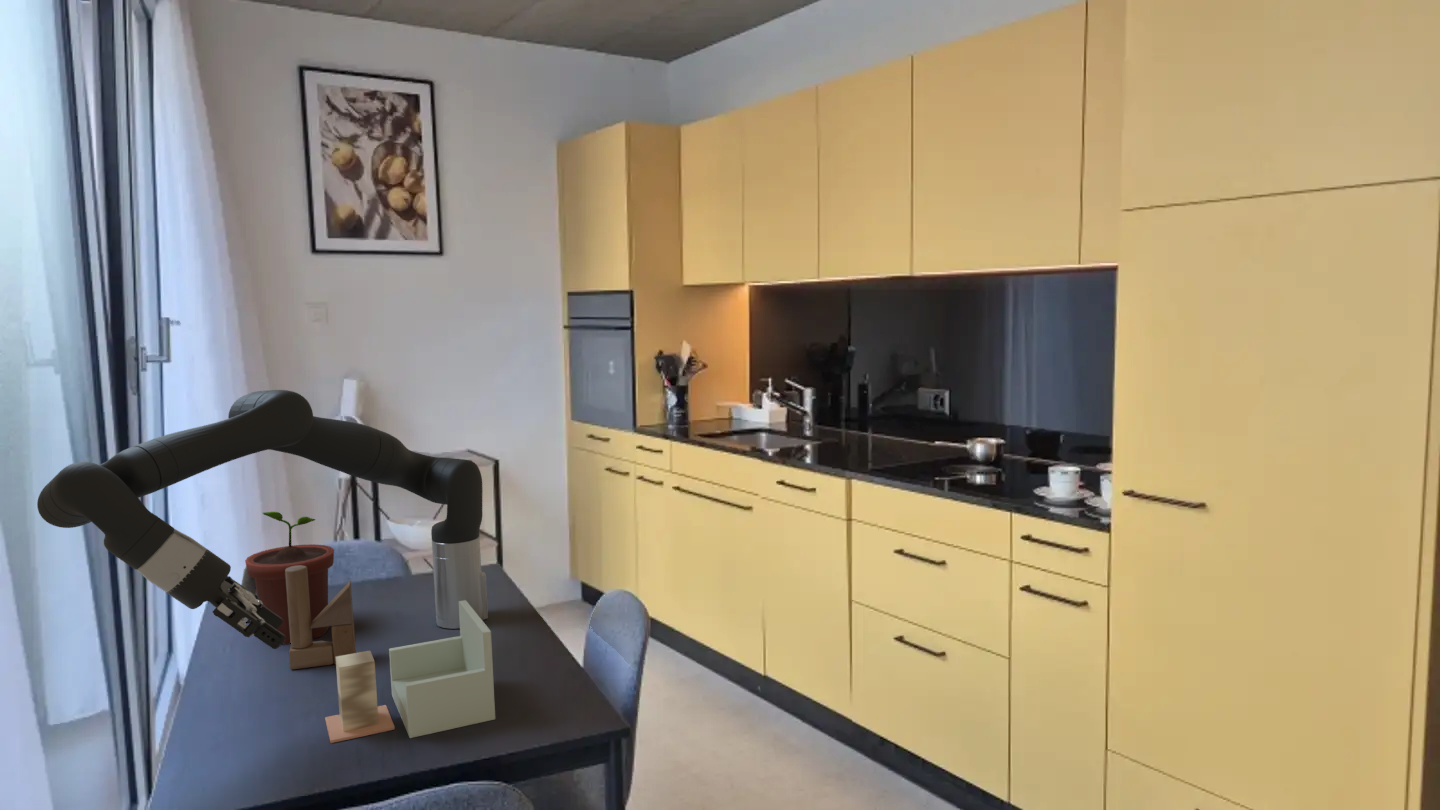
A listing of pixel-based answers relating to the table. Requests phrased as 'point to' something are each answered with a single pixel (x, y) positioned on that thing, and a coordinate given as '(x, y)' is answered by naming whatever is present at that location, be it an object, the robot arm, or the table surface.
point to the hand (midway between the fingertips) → (279, 634)
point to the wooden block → (317, 623)
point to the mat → (338, 734)
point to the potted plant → (270, 579)
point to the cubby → (445, 679)
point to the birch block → (357, 690)
